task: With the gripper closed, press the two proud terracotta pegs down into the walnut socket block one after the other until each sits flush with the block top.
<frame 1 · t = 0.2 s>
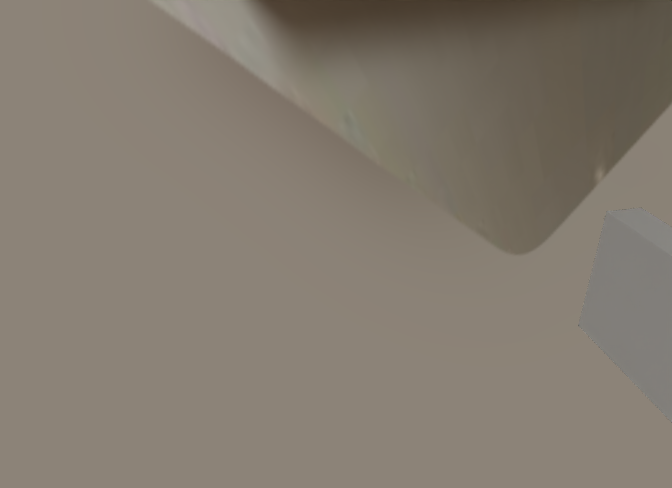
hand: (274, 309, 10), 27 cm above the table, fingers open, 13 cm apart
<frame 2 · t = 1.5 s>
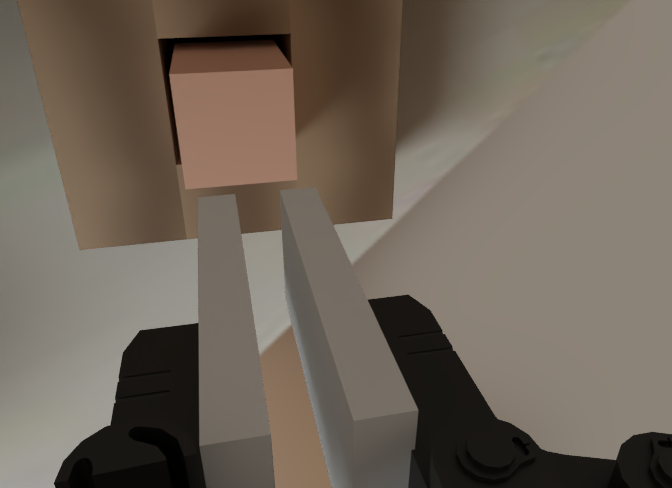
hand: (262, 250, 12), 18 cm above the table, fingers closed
peg 1: (232, 108, 22), point 7 cm above the table, slide at 4.0 cm
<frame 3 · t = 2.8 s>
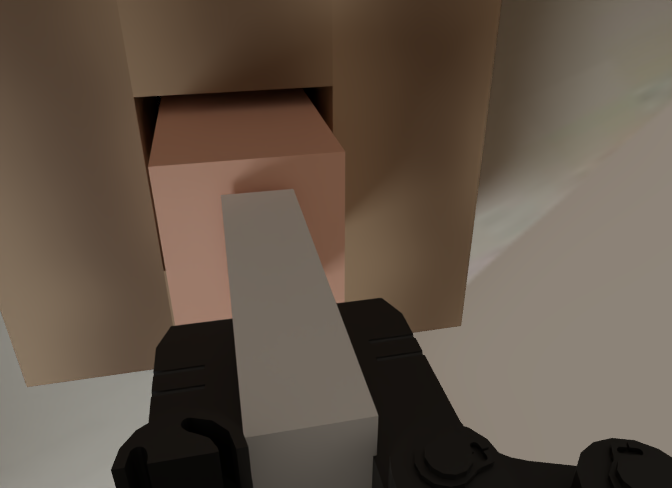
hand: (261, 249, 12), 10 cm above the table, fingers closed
peg 1: (246, 193, 15), point 7 cm above the table, slide at 3.7 cm, touching gripper
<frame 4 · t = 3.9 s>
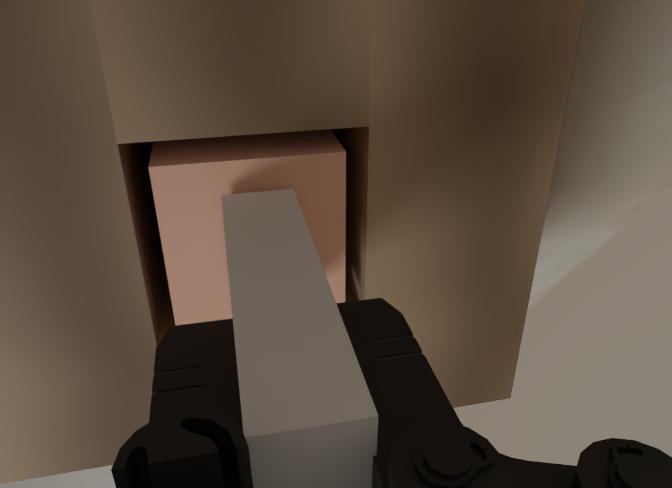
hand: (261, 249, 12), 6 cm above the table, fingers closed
peg 1: (246, 193, 15), point 3 cm above the table, slide at 0.1 cm, touching gripper
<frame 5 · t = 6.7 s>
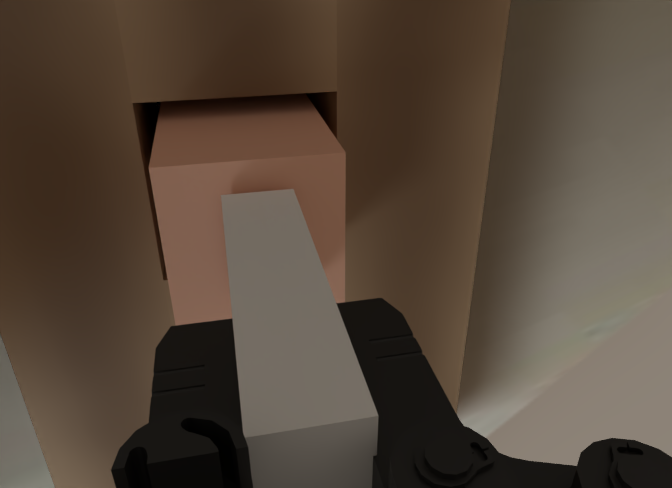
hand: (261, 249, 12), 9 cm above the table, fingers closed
peg 2: (246, 193, 15), point 6 cm above the table, slide at 3.2 cm, touching gripper
socket block: (246, 268, 23), on the table
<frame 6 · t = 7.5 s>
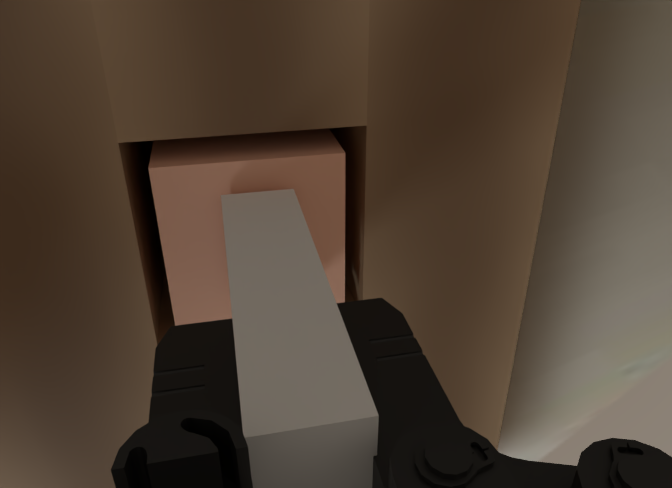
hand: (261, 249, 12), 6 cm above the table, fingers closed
peg 2: (246, 194, 15), point 3 cm above the table, slide at 0.3 cm, touching gripper
socket block: (252, 310, 21), on the table
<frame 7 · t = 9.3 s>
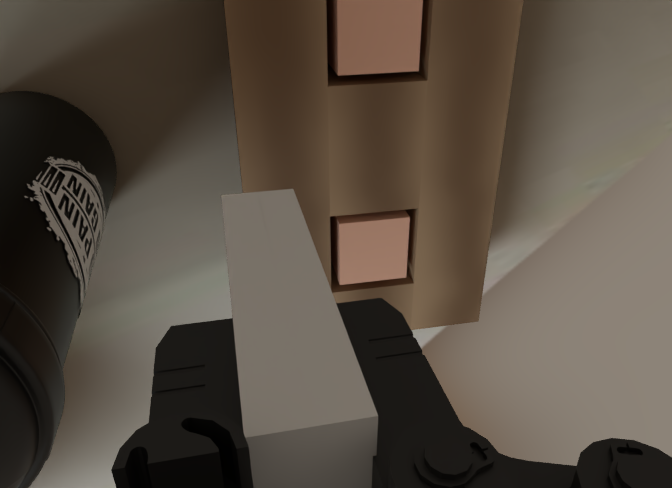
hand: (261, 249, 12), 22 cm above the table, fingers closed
peg 2: (365, 20, 29), point 3 cm above the table, slide at 0.1 cm
socket block: (352, 117, 35), on the table
peg 1: (362, 228, 35), point 3 cm above the table, slide at 0.1 cm
water bottle: (39, 163, 33), on the table
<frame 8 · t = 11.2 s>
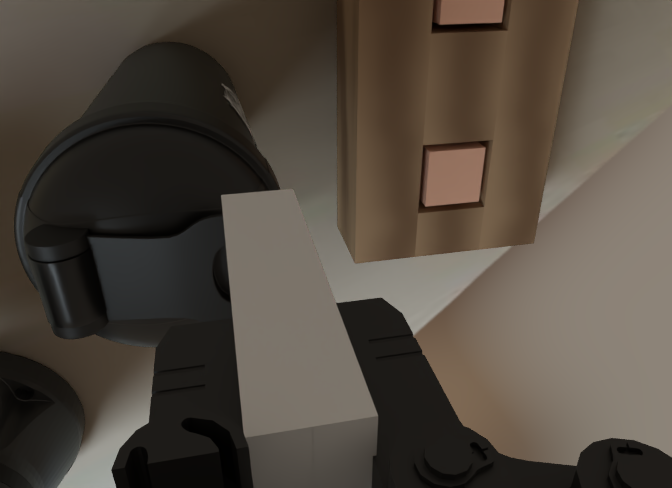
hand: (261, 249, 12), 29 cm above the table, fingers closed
socket block: (431, 70, 42), on the table
peg 1: (439, 162, 42), point 3 cm above the table, slide at 0.1 cm
water bottle: (175, 105, 39), on the table
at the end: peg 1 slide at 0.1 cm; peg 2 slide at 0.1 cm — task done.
